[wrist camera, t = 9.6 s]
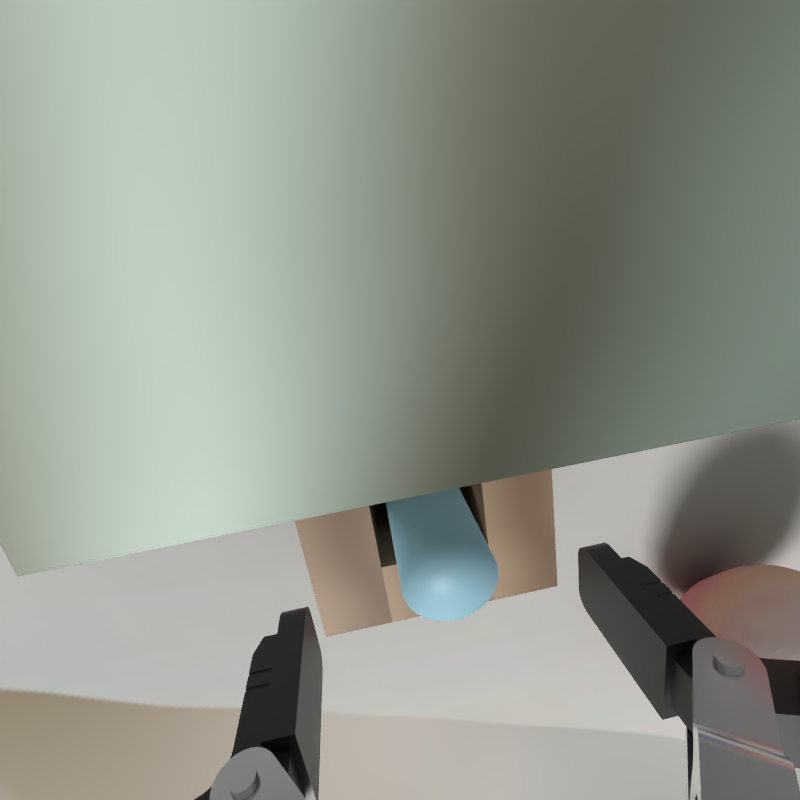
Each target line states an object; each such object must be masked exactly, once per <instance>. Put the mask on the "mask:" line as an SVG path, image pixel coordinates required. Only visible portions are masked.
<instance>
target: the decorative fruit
mask: <svg viewBox="0 0 800 800" xmlns="http://www.w3.org/2000/svg"><path fill="white" fill-rule="evenodd" d="M680 600H681V601H682V602H683V603H684V604H685V605H686V606H687V607H688V608H689V609H690V610H691V611H692V612H693V614H694V615H695V616H696V617H697V618H698V619H699V620H700V621H701V622H702V623H703V624H704V625H705V626H706V627H707V628H708V629H709V630H710V631H711V632H712V633H713V634H714V635H715V636H716V637H719V638H724V639H728V640H731V641H734V642H736V643H739V644H741V645H742V646H744V647H746V648H747V649H749V650H750V651H752V652H753V653H754V654H755V655H756V656H757V657H759V658H766V659H781V660H796V661H800V572H799V571H796V570H793V569H789V568H785V567H780V566H774V565H745V566H740V567H736V568H732V569H729V570H726V571H723V572H720V573H718V574H716V575H713V576H711V577H708V578H706V579H704V580H702V581H699V582H698V583H696V584H695V585H694V586H692V587H691V588H690V589H689V590H688V591H687V592H686V593H685V594H684V595H683V596H682V597H681V599H680Z"/></svg>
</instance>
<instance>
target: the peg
mask: <svg viewBox="0 0 800 800" xmlns="http://www.w3.org/2000/svg"><path fill="white" fill-rule="evenodd" d="M386 507H387V512H388V518H389V523H390V529H391V535H392V540H393V546H394V551H395V557H396V562H397V568H398V573H399V579H400V584H401V590H402V594H403V597H404V600H405V602H406V603H407V605H408V606H409V607H410V608H411V609H412V610H413V611H414V612H415V613H416V614H418V615H420V616H422V617H424V618H427V619H430V620H435V621H452V620H457V619H461V618H464V617H466V616H469V615H470V614H472V613H474V612H476V611H477V610H479V609H480V608H481V607H482V606H484V605H485V604H486V602H487V601H488V600H489V599H490V598H491V596H492V595H493V593H494V591H495V589H496V586H497V582H498V576H499V575H498V566H497V563H496V560H495V558H494V556H493V554H492V552H491V550H490V548H489V546H488V544H487V542H486V541H485V539H484V537H483V535H482V533H481V531H480V529H479V527H478V525H477V523H476V521H475V519H474V517H473V515H472V513H471V511H470V509H469V507H468V505H467V503H466V501H465V499H464V497H463V495H462V493H461V491H460V489H459V488H455V489H450V490H445V491H440V492H435V493H430V494H425V495H420V496H415V497H410V498H405V499H400V500H395V501H390V502H386Z"/></svg>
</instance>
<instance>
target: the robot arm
mask: <svg viewBox="0 0 800 800" xmlns="http://www.w3.org/2000/svg"><path fill="white" fill-rule="evenodd" d="M578 565H579V592H580V597H581V600H582V603H583V605H584V607H585V609H586V611H587V613H588V614H589V615H590V617H591V618H592V620H593V621H594V623H595V624H596V625H597V627H598V628H599V630H600V631H601V633H602V634H603V635H604V637H605V638H606V640H607V641H608V643H609V644H610V645H611V647H612V648H613V650H614V651H615V653H616V654H617V655H618V657H619V658H620V660H621V661H622V663H623V664H624V665H625V667H626V668H627V670H628V671H629V673H630V674H631V675H632V677H633V678H634V680H635V681H636V683H637V684H638V685H639V687H640V688H641V690H642V691H643V693H644V694H645V695H646V697H647V698H648V700H649V701H650V703H651V704H652V705H653V707H654V708H655V710H656V711H657V713H658V714H659V715H660V717H661V718H662V720H663V719H667V718H671V717H674V716H679V717H680V718H681V720H682V721H683V722H684V724H685V725H686V733H685V740H686V788H687V800H800V790H799V785H798V781H797V776H796V772H795V768H800V661H796V660H781V659H766V658H759V657H757V656H756V655H755V654H754V653H753V652H752V651H750V650H749V649H747V648H746V647H744V646H742V645H741V644H739V643H736V642H734V641H731V640H728V639H724V638H719V637H716V636H715V635H714V634H713V633H712V632H711V631H710V630H709V629H708V628H707V627H706V626H705V625H704V624H703V623H702V622H701V621H700V620H699V619H698V618H697V617H696V616H695V615H694V614H693V612H692V611H691V610H690V609H689V608H688V607H687V606H686V605H685V604H684V603H683V602H682V601H681V600H680V599H679V598H678V597H677V596H676V595H675V594H672V591H671V590H670V589H669V588H668V587H667V586H666V585H665V584H664V583H661V580H660V579H659V578H658V577H657V576H656V575H655V574H654V573H653V572H652V571H651V570H650V569H649V568H648V567H647V566H645V565H643V564H641V563H639V562H638V561H636V560H634V559H632V558H630V557H625V558H621V557H620V556H619V555H618V554H617V553H616V552H615V551H614V550H613V549H612V548H611V547H610V546H609V545H608V544H606V543H601V544H596V545H592V546H587V547H583V548H580V549H579V552H578ZM321 701H322V657H321V651H320V646H319V642H318V639H317V635H316V631H315V628H314V624H313V620H312V617H311V613H310V610H309V608H308V607H305V608H300V609H296V610H291V611H287V612H282V613H281V615H280V620H279V627H278V633H277V634H275V635H271V636H266V637H264V638H263V639H262V641H261V643H260V644H259V646H258V647H257V649H256V651H255V652H254V654H253V657H252V662H251V667H250V671H249V677H248V681H247V686H246V692H245V695H244V700H243V705H242V710H241V714H240V719H239V724H238V729H237V734H236V738H235V743H234V748H233V752H232V756H231V758H230V760H229V761H228V762H227V763H226V764H225V765H224V766H223V767H222V768H221V770H220V771H219V773H218V774H217V776H216V778H215V780H214V782H213V785H212V787H211V788H210V789H208V790H207V791H206V792H205V793H204V794H202V795H201V796H199V797H198V798H196V799H195V800H318V791H319V759H320V730H321Z"/></svg>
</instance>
